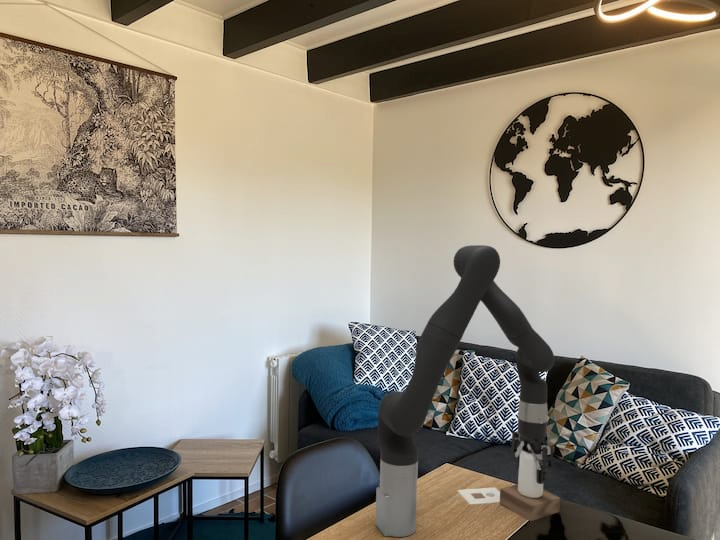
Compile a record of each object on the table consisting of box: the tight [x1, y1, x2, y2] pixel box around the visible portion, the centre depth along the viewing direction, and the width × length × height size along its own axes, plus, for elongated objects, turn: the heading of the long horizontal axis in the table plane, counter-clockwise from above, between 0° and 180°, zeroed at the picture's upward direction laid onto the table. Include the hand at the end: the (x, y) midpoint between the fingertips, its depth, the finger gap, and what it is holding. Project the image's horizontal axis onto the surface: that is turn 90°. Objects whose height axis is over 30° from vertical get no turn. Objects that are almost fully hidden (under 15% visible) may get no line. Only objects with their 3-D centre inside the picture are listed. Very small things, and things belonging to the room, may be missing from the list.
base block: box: [499, 483, 561, 522], centre depth 147 cm, size 11×11×4 cm
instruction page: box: [456, 486, 500, 506], centre depth 154 cm, size 12×9×1 cm
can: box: [517, 448, 544, 498], centre depth 147 cm, size 6×6×12 cm
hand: (530, 476), depth 147 cm, fingers open, 8 cm apart
